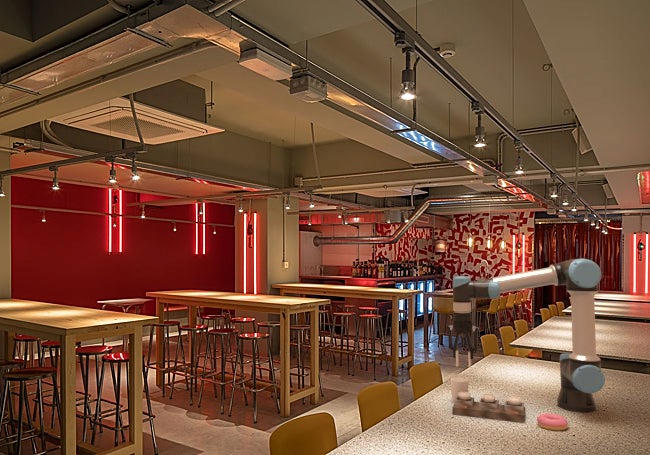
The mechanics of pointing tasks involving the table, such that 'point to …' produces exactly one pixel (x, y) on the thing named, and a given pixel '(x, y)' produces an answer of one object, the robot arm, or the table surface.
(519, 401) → the button near
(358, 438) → the table surface
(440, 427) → the table surface
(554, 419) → the doughnut
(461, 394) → the button far
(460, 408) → the panel
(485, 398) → the button mid
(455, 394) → the tan paper cup
